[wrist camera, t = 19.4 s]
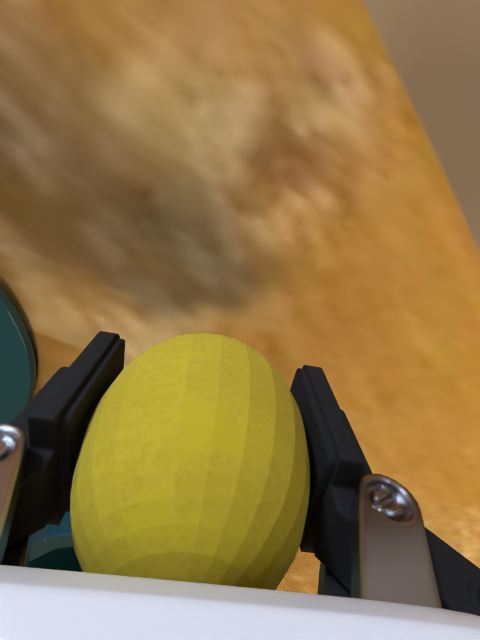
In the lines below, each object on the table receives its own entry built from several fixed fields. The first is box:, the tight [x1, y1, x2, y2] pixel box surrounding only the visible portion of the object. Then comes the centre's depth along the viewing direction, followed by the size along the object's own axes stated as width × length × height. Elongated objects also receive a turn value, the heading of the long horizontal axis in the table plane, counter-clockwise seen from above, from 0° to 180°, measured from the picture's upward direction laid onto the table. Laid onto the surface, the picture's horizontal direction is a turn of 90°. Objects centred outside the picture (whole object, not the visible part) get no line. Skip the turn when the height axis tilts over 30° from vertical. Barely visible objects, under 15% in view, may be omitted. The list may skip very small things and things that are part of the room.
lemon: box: [70, 333, 310, 590], centre depth 8 cm, size 6×6×8 cm
